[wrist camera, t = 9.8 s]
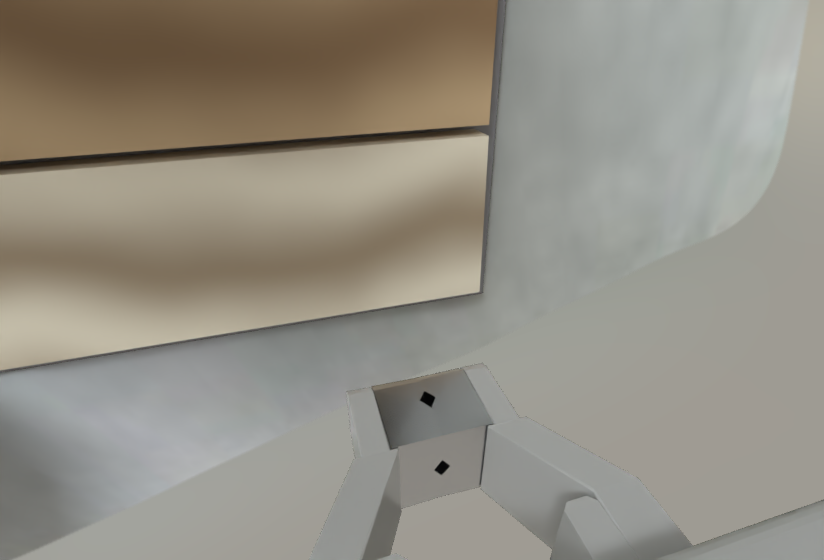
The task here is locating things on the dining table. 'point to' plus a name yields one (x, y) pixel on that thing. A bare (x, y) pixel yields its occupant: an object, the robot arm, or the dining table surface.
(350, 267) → the ash plank
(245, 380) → the dining table surface
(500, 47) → the board
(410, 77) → the oak plank
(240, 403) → the dining table surface
